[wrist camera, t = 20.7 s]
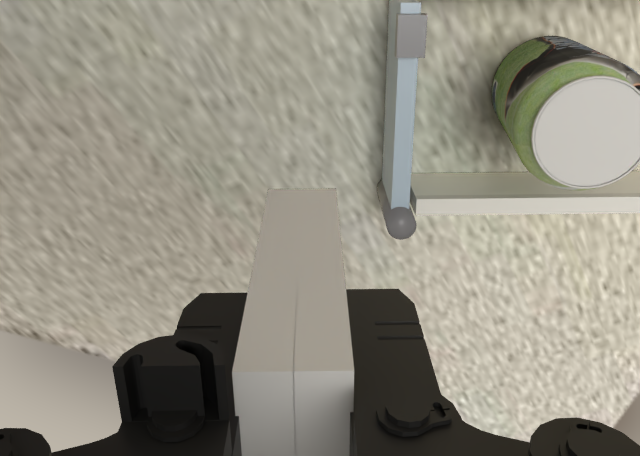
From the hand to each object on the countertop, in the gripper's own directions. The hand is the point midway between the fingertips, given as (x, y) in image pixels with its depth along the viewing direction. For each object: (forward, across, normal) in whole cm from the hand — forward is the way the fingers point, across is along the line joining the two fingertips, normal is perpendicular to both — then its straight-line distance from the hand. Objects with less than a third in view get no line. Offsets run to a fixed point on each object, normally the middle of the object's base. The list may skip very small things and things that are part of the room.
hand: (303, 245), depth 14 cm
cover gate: (+24, +5, -2) cm, 25 cm away
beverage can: (+25, +13, -1) cm, 28 cm away
